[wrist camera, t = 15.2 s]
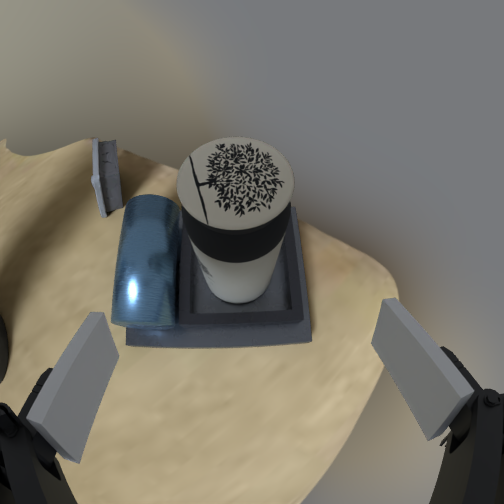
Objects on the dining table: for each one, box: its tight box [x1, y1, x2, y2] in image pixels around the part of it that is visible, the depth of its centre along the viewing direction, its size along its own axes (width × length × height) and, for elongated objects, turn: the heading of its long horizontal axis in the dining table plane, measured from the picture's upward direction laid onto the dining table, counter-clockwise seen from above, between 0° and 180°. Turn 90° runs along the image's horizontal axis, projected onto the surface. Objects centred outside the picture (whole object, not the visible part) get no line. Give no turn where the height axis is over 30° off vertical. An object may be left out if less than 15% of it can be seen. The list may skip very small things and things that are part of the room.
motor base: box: [111, 194, 312, 348], centre depth 31 cm, size 22×18×9 cm
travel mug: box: [177, 137, 294, 304], centre depth 25 cm, size 8×8×18 cm
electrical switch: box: [91, 138, 123, 218], centre depth 36 cm, size 9×5×9 cm, turn 23°
